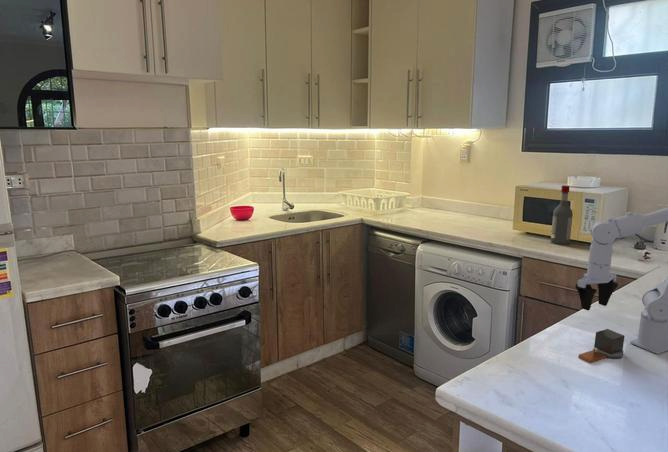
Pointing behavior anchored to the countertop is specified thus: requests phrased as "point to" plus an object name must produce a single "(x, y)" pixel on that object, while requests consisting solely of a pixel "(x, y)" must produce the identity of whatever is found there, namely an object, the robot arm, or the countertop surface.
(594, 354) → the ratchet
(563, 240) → the liquor
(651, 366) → the countertop surface
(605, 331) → the dark grey cube
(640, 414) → the countertop surface
